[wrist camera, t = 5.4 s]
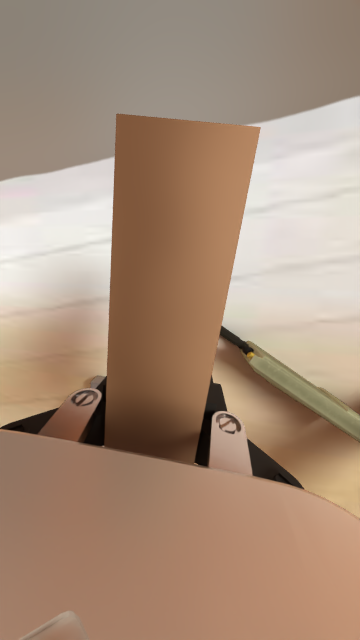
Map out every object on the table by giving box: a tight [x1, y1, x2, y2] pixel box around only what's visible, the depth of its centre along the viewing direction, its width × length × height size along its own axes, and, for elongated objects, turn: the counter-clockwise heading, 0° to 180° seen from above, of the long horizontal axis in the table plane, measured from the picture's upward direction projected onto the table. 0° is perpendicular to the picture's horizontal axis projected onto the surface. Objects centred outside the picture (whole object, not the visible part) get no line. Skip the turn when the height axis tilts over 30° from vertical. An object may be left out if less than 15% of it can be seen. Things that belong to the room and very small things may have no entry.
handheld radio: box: [220, 326, 360, 442], centre depth 26 cm, size 7×3×25 cm
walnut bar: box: [104, 114, 261, 464], centre depth 9 cm, size 4×20×6 cm, turn 172°
